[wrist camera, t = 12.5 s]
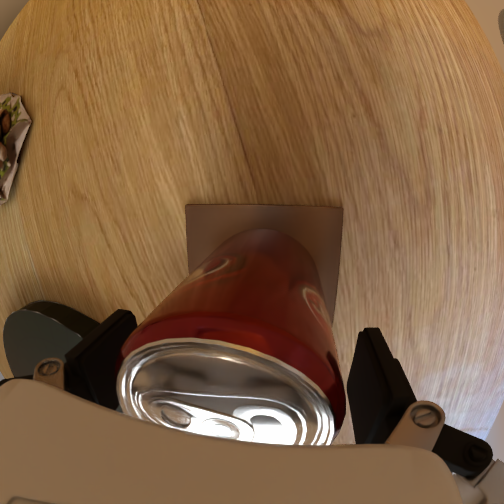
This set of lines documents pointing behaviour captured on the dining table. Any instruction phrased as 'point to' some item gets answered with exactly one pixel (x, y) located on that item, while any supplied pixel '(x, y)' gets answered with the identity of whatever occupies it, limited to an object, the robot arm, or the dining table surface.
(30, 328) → the disc
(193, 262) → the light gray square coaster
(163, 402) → the soda can
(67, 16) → the dining table surface
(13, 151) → the bear figurine
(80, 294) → the dining table surface
